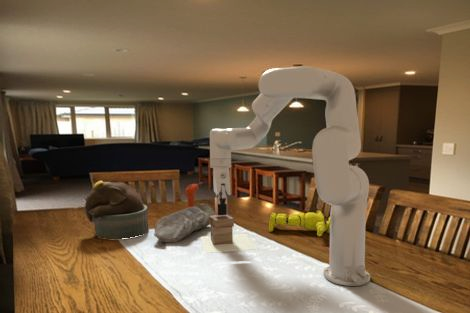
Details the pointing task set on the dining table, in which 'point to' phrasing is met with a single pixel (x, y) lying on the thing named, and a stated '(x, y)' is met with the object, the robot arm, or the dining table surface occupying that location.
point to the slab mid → (222, 231)
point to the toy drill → (192, 193)
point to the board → (238, 244)
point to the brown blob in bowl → (116, 211)
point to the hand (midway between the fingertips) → (221, 212)
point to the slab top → (221, 221)
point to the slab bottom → (221, 240)
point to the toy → (302, 221)
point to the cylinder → (217, 206)
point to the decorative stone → (183, 223)
